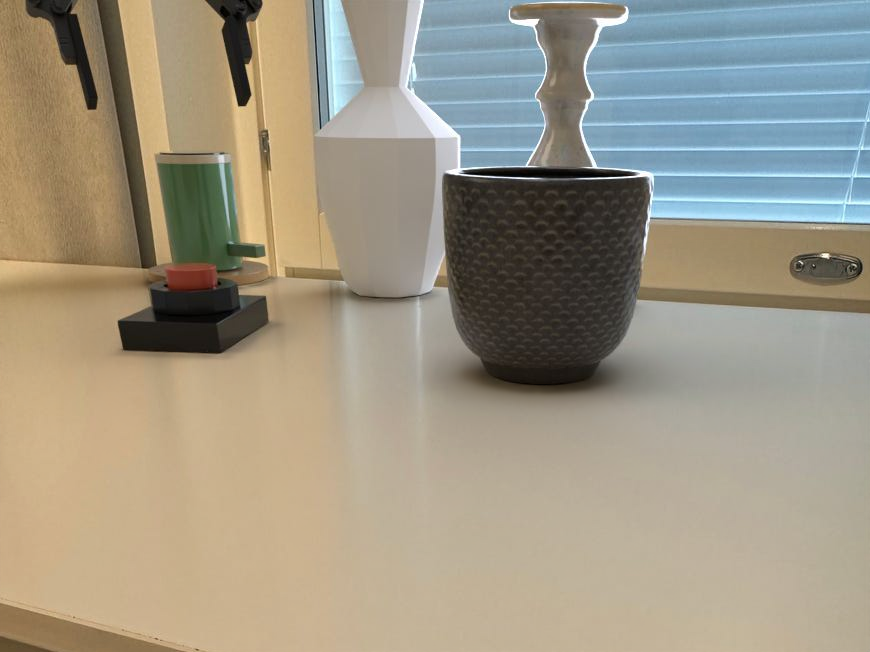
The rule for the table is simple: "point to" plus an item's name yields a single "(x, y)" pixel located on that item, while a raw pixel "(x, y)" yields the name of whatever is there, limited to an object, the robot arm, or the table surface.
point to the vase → (385, 161)
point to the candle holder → (565, 73)
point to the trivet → (223, 273)
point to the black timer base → (193, 319)
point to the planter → (544, 265)
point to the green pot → (202, 209)
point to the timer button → (191, 276)
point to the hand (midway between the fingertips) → (171, 102)
